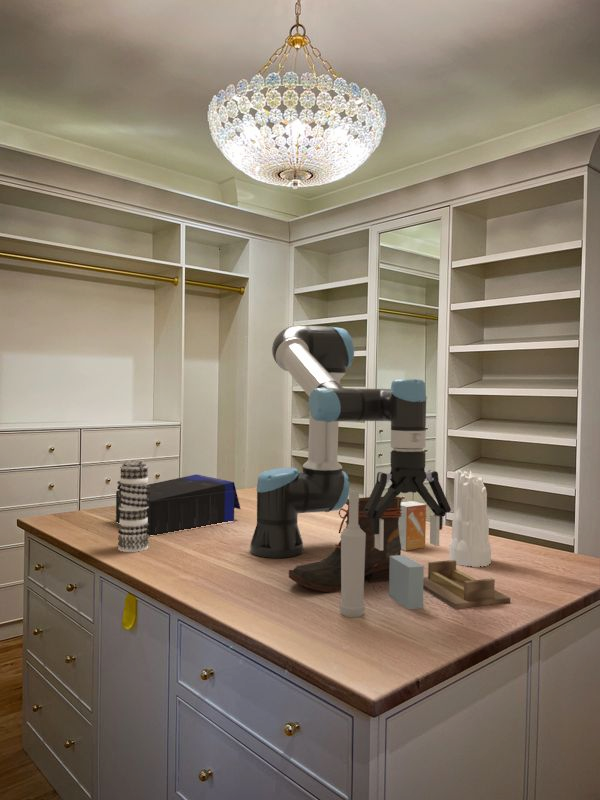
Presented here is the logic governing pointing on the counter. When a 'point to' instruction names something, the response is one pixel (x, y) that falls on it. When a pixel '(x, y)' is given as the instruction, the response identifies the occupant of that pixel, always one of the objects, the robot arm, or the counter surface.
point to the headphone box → (188, 503)
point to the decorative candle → (133, 507)
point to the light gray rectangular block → (406, 581)
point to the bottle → (352, 563)
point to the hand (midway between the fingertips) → (407, 546)
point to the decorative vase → (470, 522)
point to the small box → (412, 525)
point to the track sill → (460, 586)
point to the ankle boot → (376, 561)
